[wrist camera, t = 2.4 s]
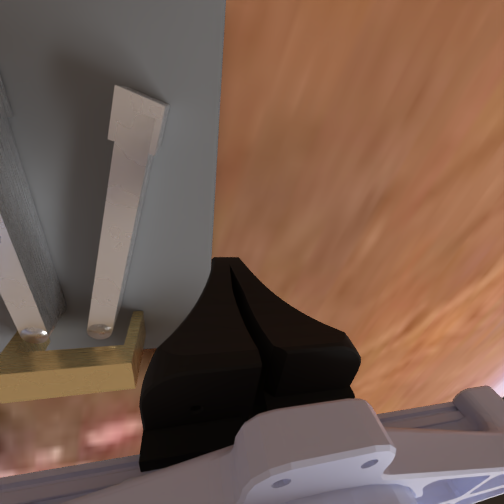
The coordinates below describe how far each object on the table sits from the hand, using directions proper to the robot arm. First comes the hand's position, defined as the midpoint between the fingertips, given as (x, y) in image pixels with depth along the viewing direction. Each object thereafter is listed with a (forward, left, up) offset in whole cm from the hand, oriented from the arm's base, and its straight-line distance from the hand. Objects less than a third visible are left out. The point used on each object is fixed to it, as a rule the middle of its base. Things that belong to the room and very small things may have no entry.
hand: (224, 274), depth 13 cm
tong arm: (-6, -1, -7) cm, 9 cm away
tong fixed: (-12, -1, -7) cm, 14 cm away
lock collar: (-10, -11, -8) cm, 16 cm away
